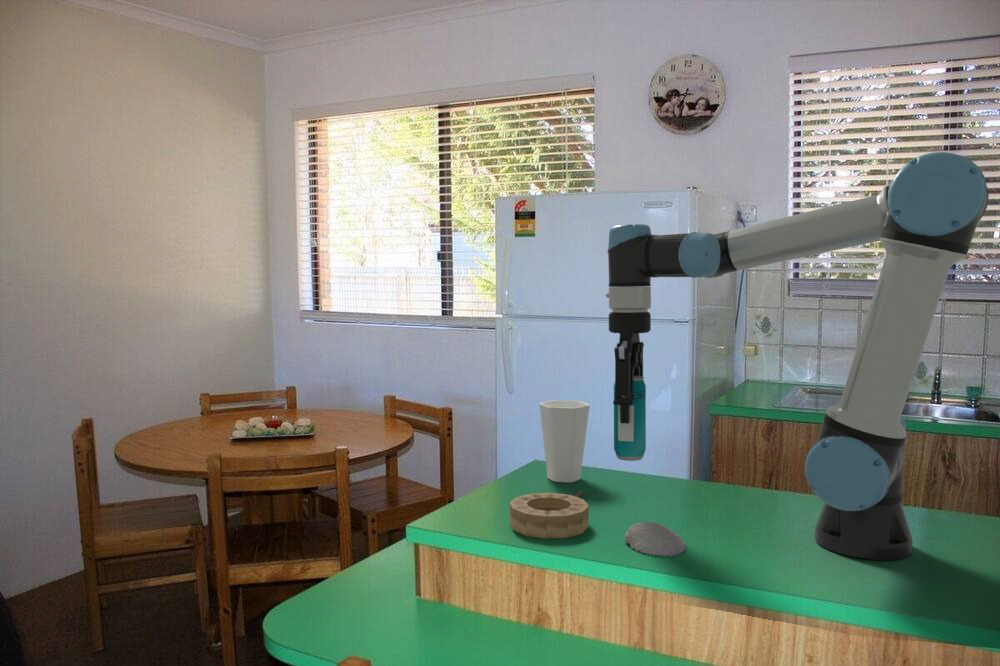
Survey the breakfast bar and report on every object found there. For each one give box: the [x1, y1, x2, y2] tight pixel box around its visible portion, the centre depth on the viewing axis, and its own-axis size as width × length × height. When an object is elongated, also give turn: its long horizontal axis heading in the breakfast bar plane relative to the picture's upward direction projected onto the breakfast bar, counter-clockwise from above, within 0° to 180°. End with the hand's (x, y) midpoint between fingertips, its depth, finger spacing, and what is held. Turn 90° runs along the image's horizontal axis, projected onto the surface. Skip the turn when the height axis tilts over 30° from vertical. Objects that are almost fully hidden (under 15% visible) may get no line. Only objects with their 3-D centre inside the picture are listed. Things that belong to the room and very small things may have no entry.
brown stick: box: [573, 491, 583, 499], centre depth 155 cm, size 1×14×1 cm, turn 159°
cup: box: [539, 399, 590, 483], centre depth 173 cm, size 11×10×17 cm
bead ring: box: [509, 492, 590, 540], centre depth 142 cm, size 14×14×4 cm
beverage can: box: [613, 375, 647, 462], centre depth 141 cm, size 6×6×15 cm
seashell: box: [624, 521, 687, 557], centre depth 132 cm, size 10×6×10 cm
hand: (629, 437), depth 141 cm, fingers closed on beverage can, 6 cm apart
